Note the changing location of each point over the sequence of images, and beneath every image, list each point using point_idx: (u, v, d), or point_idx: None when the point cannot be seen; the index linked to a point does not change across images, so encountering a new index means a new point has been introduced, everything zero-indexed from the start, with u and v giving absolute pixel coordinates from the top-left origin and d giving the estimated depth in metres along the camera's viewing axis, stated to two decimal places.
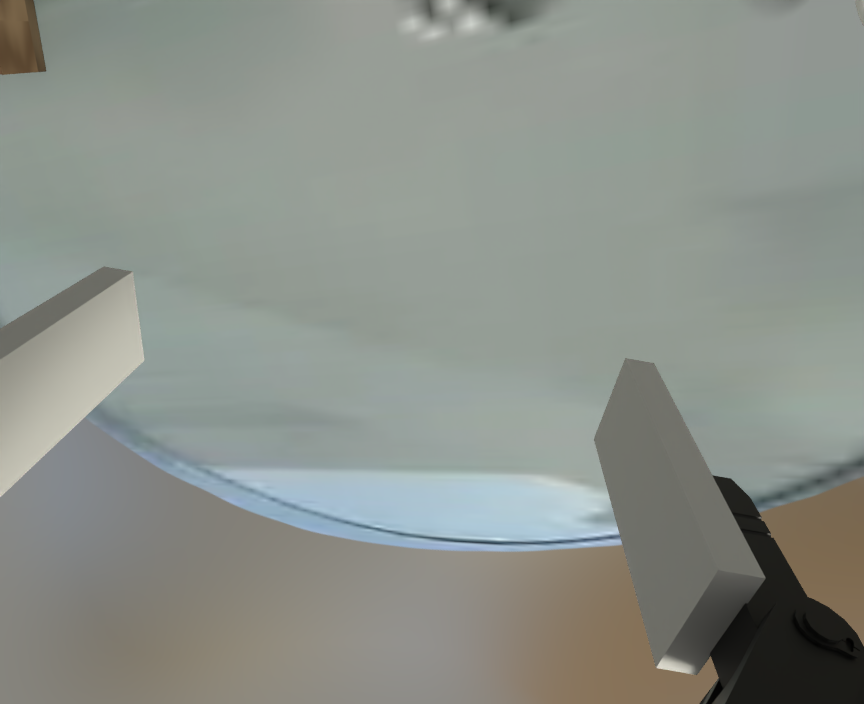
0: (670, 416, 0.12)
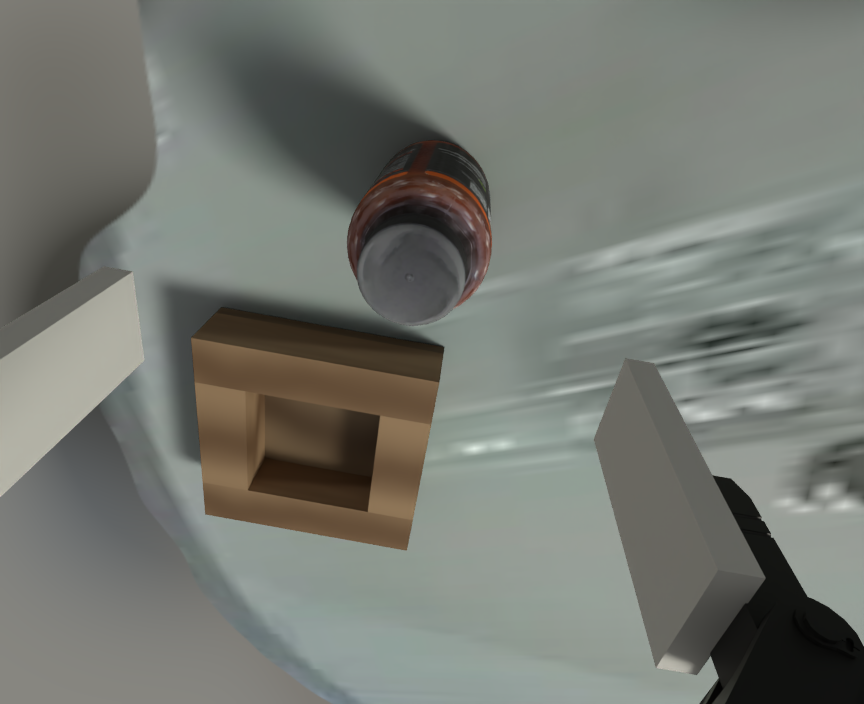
0: (670, 416, 0.12)
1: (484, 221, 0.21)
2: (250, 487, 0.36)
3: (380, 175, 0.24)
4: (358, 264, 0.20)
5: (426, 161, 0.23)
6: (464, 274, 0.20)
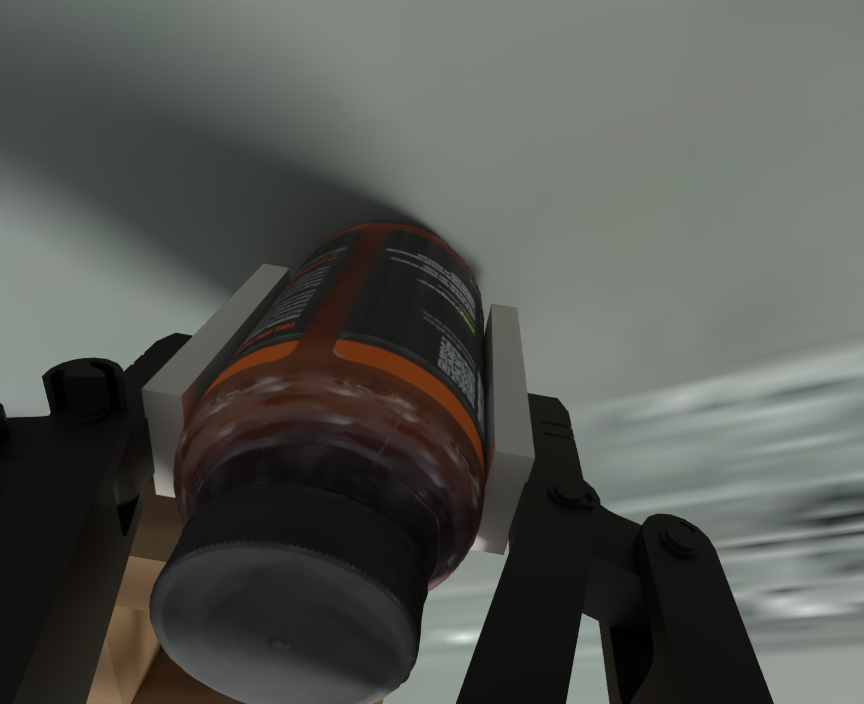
0: (511, 346, 0.14)
1: (468, 456, 0.09)
2: None
3: (266, 314, 0.12)
4: (151, 611, 0.08)
5: (351, 297, 0.11)
6: (415, 640, 0.08)
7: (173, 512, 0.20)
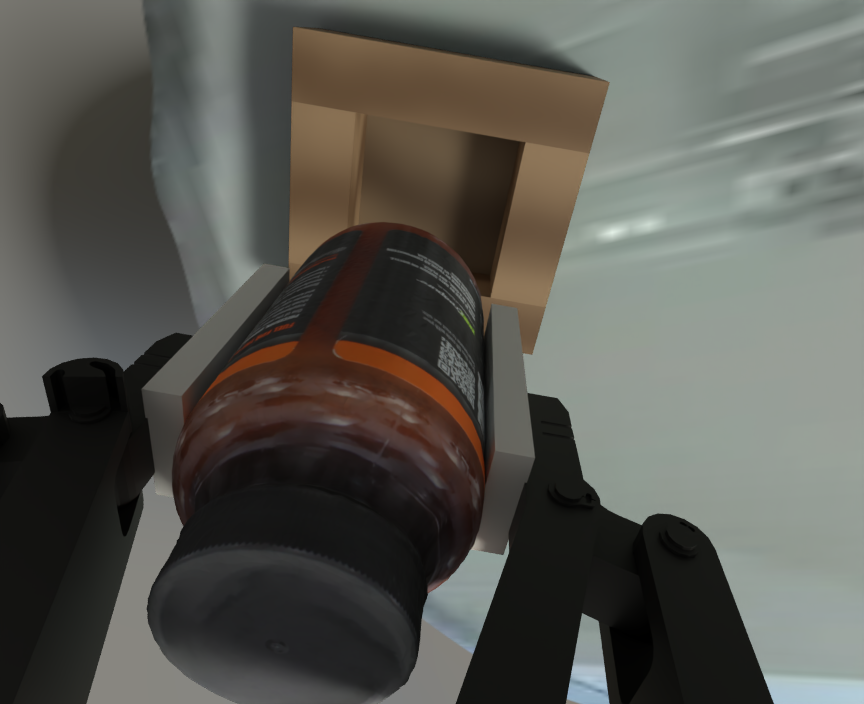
0: (511, 346, 0.14)
1: (468, 457, 0.09)
2: None
3: (265, 315, 0.12)
4: (149, 613, 0.08)
5: (351, 297, 0.11)
6: (414, 643, 0.08)
7: (413, 46, 0.26)
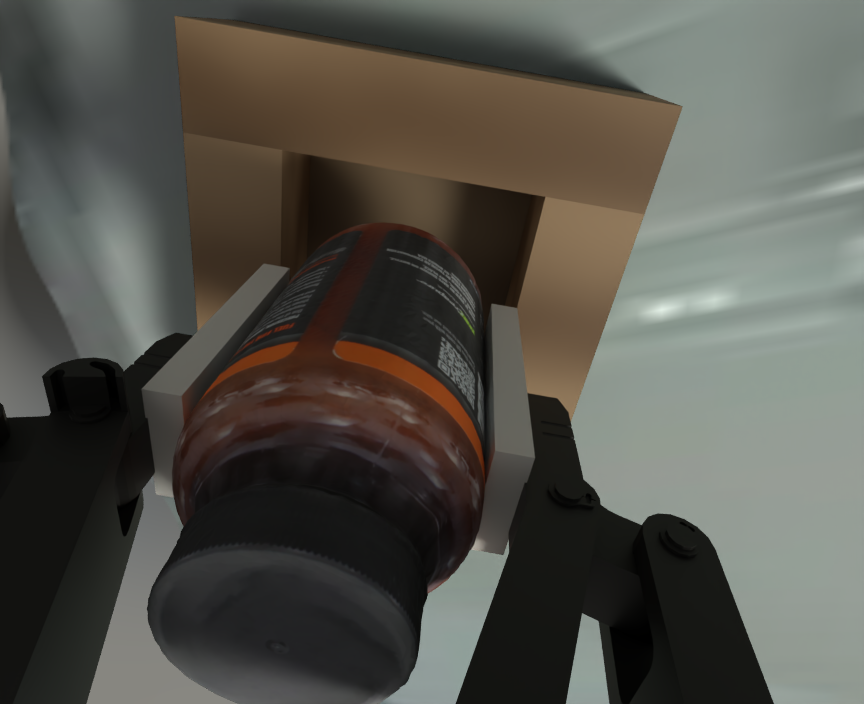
0: (511, 346, 0.14)
1: (468, 457, 0.09)
2: None
3: (265, 315, 0.12)
4: (149, 614, 0.08)
5: (351, 297, 0.11)
6: (414, 643, 0.08)
7: (372, 47, 0.17)
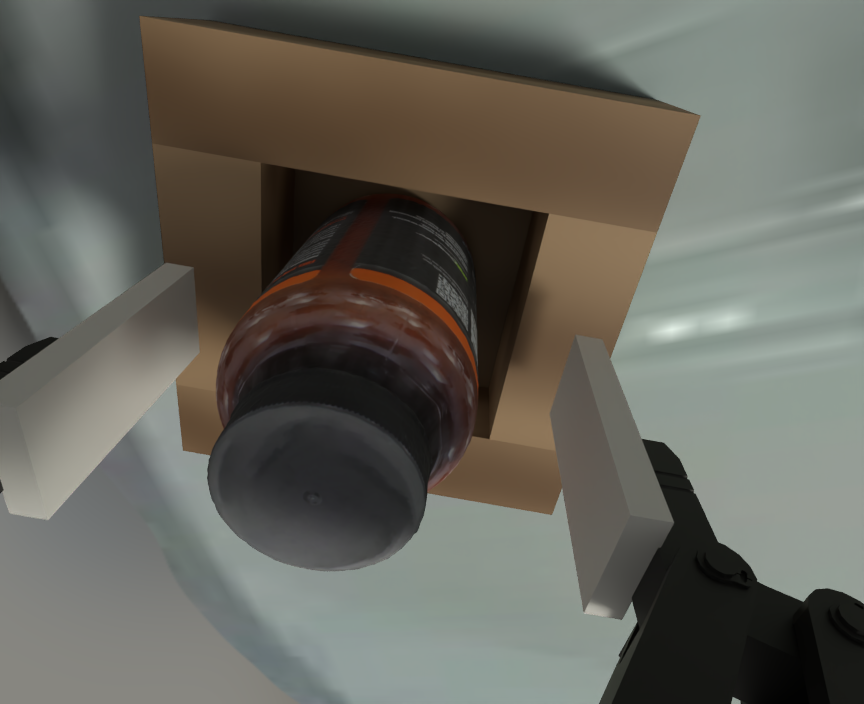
0: (609, 385, 0.13)
1: (463, 360, 0.11)
2: None
3: None
4: (209, 474, 0.10)
5: (361, 242, 0.13)
6: (423, 490, 0.10)
7: (359, 50, 0.15)
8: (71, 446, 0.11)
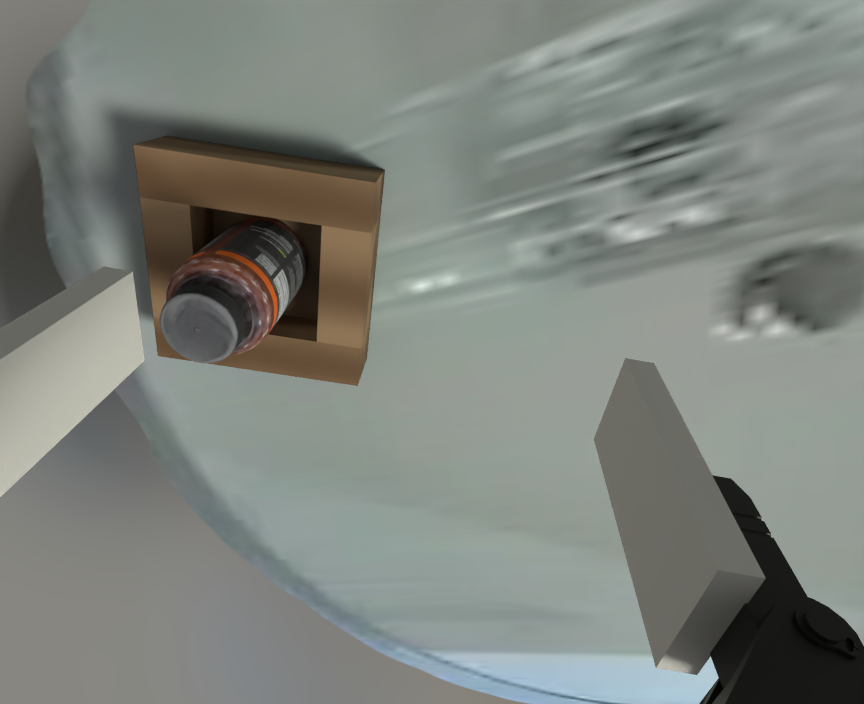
0: (670, 416, 0.12)
1: (260, 284, 0.29)
2: None
3: None
4: (160, 322, 0.28)
5: (228, 240, 0.31)
6: (235, 325, 0.28)
7: (234, 152, 0.33)
8: None
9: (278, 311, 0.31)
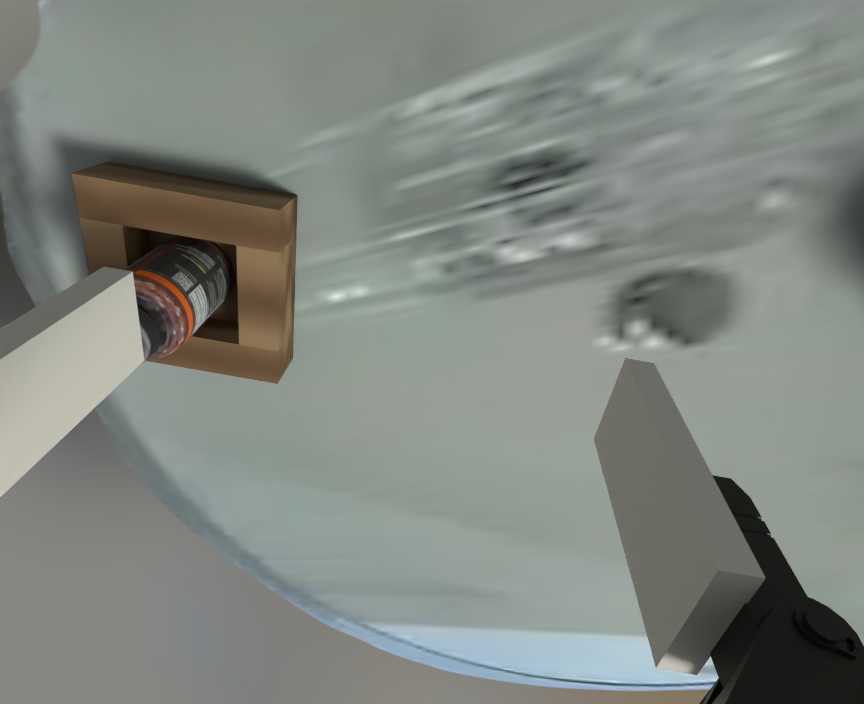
0: (670, 416, 0.12)
1: (174, 300, 0.34)
2: None
3: None
4: None
5: (151, 259, 0.36)
6: (147, 336, 0.33)
7: (162, 179, 0.38)
8: None
9: (194, 321, 0.37)
